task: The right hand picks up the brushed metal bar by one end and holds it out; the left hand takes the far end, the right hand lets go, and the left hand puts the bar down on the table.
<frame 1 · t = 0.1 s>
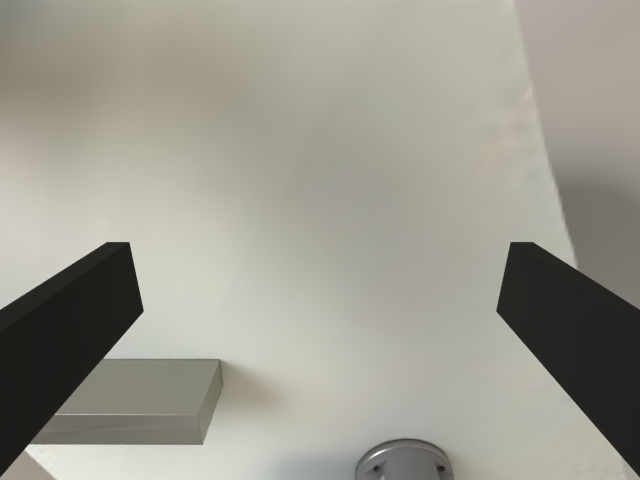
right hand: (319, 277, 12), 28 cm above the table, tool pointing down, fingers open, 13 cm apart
bar: (128, 372, 49), on the table
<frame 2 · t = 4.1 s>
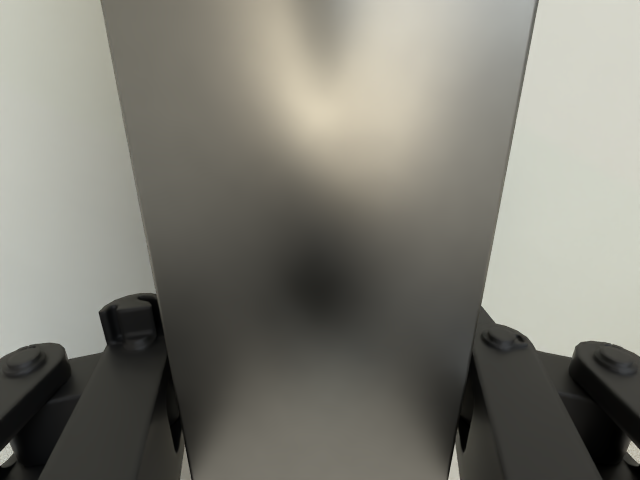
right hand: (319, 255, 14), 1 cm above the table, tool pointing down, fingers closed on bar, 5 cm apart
bar: (319, 4, 12), on the table, touching right hand
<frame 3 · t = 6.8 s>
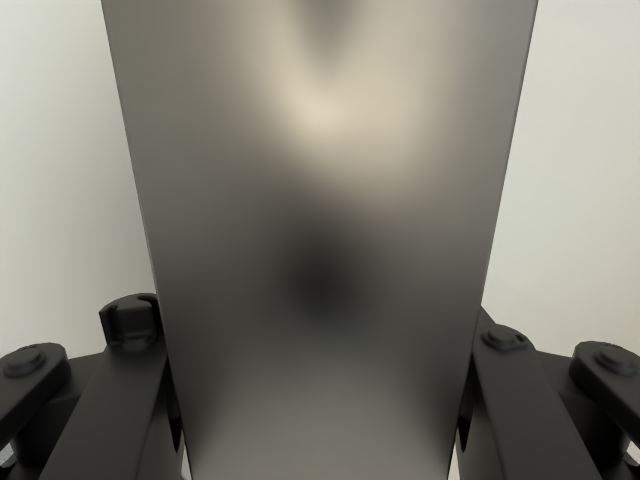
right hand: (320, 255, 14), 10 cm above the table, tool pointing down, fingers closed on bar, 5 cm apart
bar: (319, 3, 12), point 10 cm above the table, touching right hand
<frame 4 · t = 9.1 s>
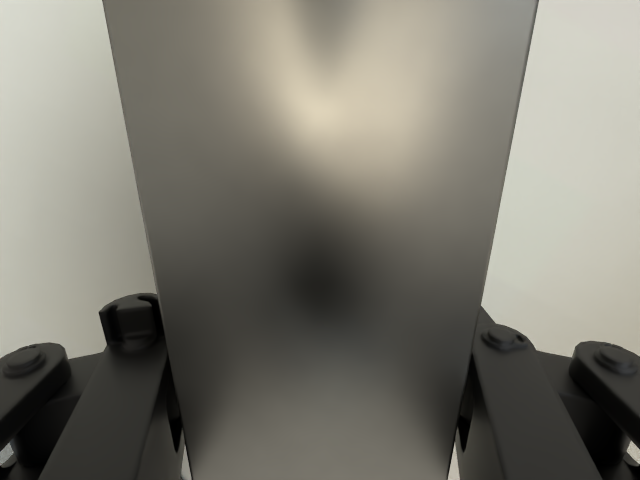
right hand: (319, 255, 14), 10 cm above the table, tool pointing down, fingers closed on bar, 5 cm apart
bar: (320, 3, 12), point 10 cm above the table, touching right hand, left hand
when the right hand's fingers open (10 cm above the table, at t = 9.6 s): bar stays where it is, held by the left hand.
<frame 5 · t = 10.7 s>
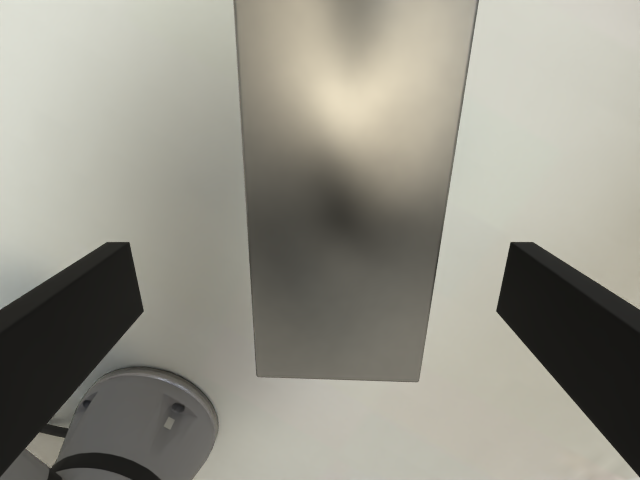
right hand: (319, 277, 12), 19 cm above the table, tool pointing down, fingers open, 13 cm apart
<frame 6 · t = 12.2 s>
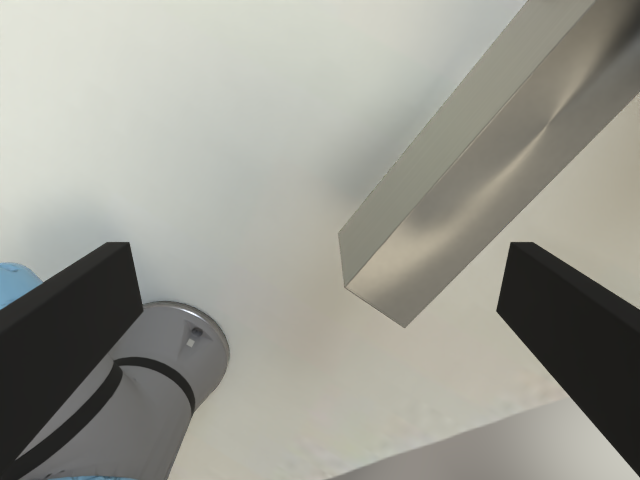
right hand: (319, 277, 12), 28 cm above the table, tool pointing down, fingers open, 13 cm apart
bar: (472, 117, 26), point 12 cm above the table, touching left hand
when the left hand's fingers open (3 cm above the table, at t = 15.8 s): bar drops 2 cm, on the table.
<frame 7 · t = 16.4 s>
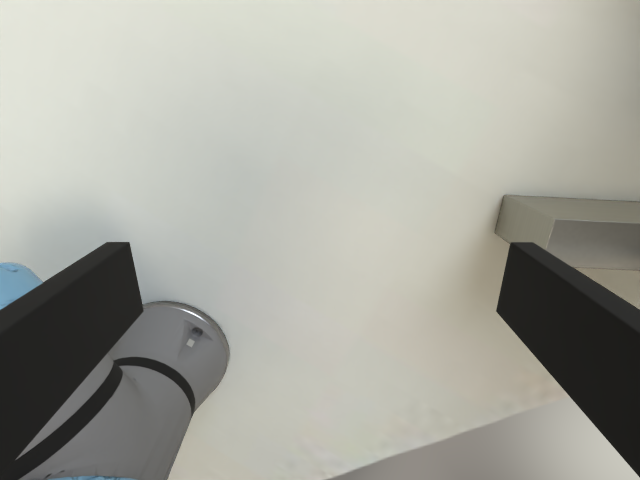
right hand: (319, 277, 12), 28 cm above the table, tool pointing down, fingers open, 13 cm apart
bar: (608, 219, 41), on the table
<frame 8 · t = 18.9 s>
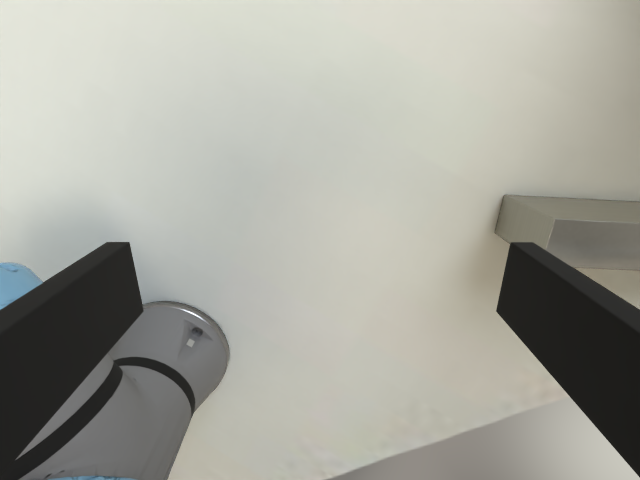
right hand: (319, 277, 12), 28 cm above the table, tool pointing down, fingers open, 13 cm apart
bar: (608, 219, 41), on the table
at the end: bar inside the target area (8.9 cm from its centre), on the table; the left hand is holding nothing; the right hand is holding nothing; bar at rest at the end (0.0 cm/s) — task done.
